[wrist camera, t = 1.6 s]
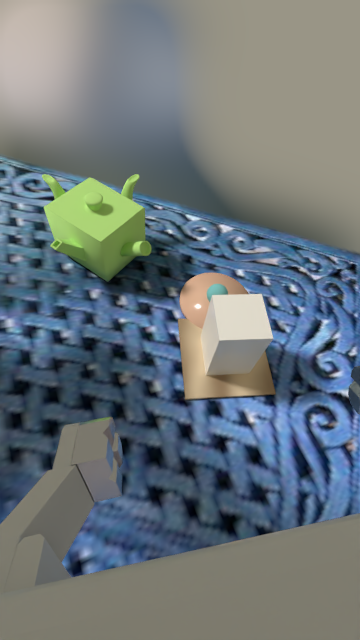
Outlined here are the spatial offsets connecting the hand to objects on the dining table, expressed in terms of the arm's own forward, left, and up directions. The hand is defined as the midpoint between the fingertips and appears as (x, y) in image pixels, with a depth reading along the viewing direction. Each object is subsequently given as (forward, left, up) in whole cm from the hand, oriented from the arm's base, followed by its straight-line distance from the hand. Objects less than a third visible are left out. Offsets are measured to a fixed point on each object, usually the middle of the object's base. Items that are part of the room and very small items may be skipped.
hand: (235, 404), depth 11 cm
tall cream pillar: (-10, +15, -30) cm, 34 cm away
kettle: (-35, +10, -30) cm, 47 cm away
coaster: (-17, +19, -30) cm, 40 cm away
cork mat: (-10, +15, -30) cm, 35 cm away
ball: (-17, +19, -29) cm, 39 cm away
